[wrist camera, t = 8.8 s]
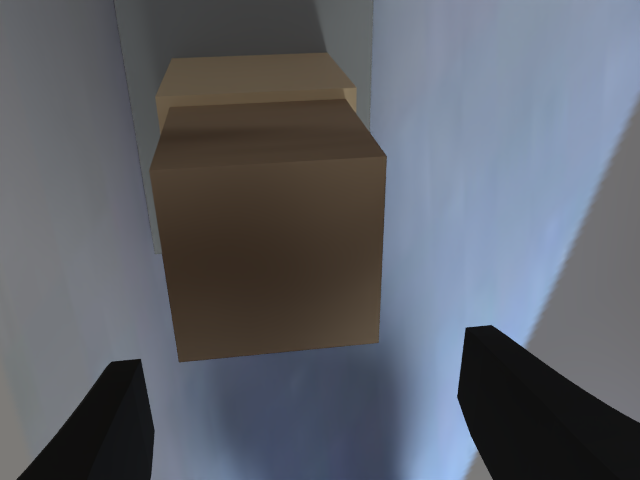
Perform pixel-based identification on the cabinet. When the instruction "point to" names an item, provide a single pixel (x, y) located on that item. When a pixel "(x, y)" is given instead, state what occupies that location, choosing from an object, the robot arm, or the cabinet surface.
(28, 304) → the cabinet surface
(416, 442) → the cabinet surface
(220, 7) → the tower base
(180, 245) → the walnut block
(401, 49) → the cabinet surface
